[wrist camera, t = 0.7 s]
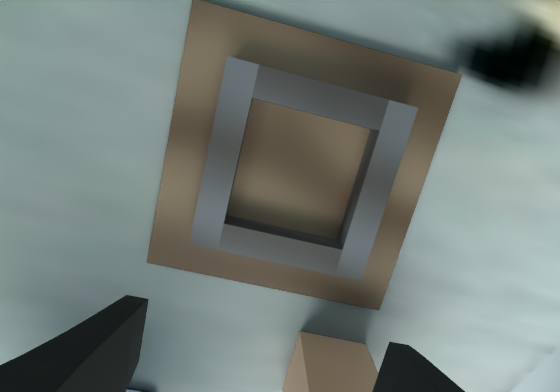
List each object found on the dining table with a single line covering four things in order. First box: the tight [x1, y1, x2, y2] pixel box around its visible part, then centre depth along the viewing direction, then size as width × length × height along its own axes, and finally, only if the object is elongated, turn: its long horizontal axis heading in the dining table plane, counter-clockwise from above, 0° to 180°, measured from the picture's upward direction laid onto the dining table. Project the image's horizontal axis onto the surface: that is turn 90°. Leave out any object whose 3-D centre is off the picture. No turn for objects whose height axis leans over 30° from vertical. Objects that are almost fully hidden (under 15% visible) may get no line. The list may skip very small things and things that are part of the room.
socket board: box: [147, 0, 462, 310], centre depth 18 cm, size 14×14×2 cm
